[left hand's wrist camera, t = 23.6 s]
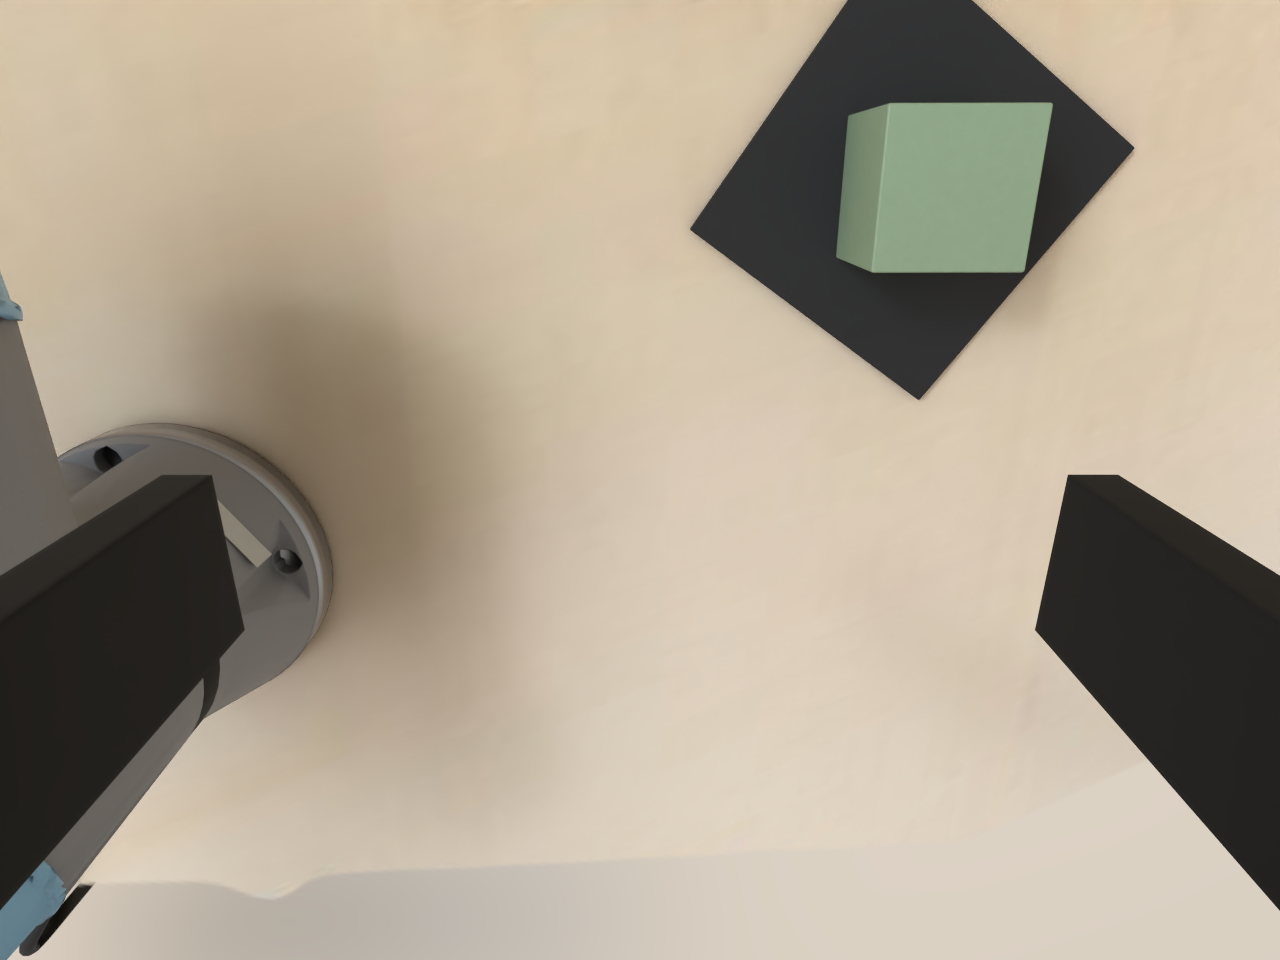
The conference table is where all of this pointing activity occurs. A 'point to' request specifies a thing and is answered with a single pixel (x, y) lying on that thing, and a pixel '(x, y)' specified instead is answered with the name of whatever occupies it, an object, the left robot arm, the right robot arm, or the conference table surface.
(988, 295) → the rubber mat
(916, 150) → the green block
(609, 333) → the conference table surface
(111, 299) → the conference table surface
